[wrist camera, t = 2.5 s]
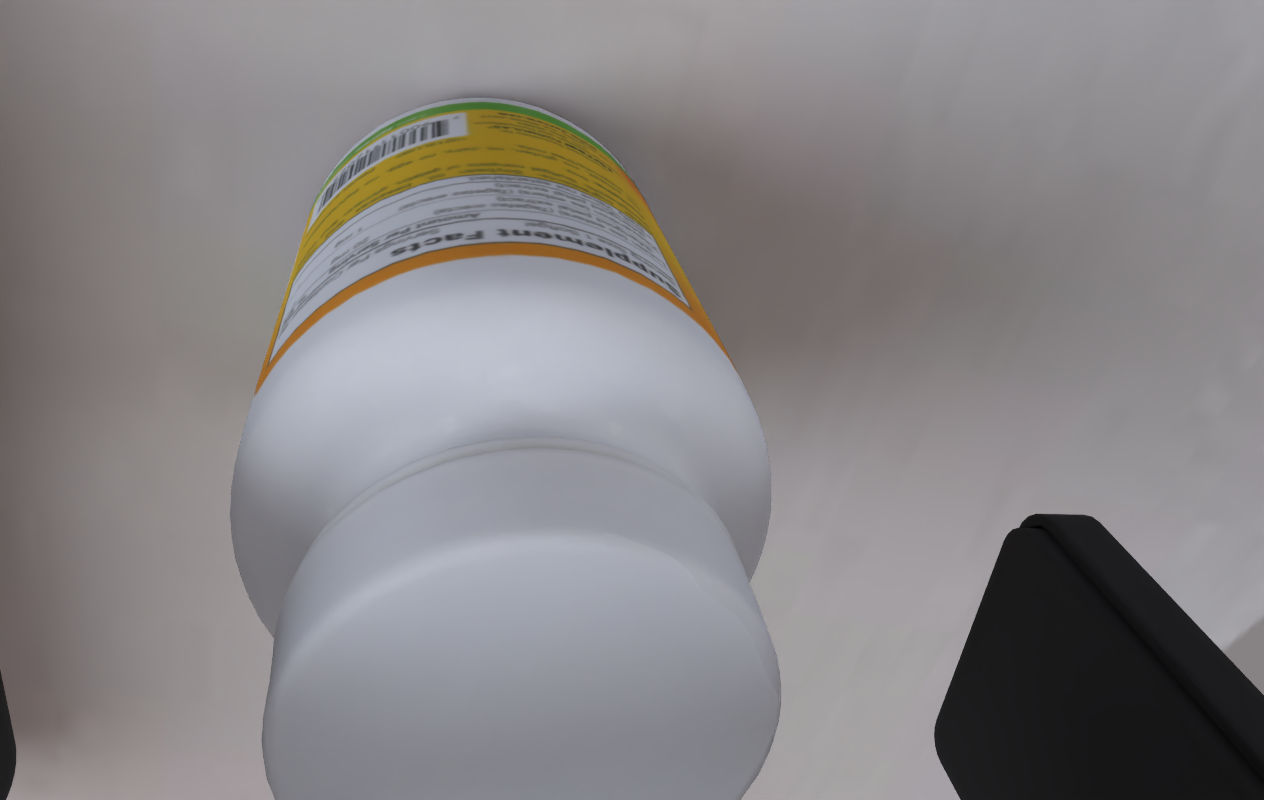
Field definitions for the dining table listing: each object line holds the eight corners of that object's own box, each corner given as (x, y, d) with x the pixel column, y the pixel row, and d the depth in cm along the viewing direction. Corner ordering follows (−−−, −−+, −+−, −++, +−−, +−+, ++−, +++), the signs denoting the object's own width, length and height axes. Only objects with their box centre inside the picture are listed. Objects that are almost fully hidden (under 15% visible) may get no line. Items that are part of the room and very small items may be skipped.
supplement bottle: (588, 440, 18) (719, 980, 10) (273, 369, 16) (107, 947, 8) (702, 153, 16) (999, 538, 7) (350, 36, 14) (227, 366, 6)
